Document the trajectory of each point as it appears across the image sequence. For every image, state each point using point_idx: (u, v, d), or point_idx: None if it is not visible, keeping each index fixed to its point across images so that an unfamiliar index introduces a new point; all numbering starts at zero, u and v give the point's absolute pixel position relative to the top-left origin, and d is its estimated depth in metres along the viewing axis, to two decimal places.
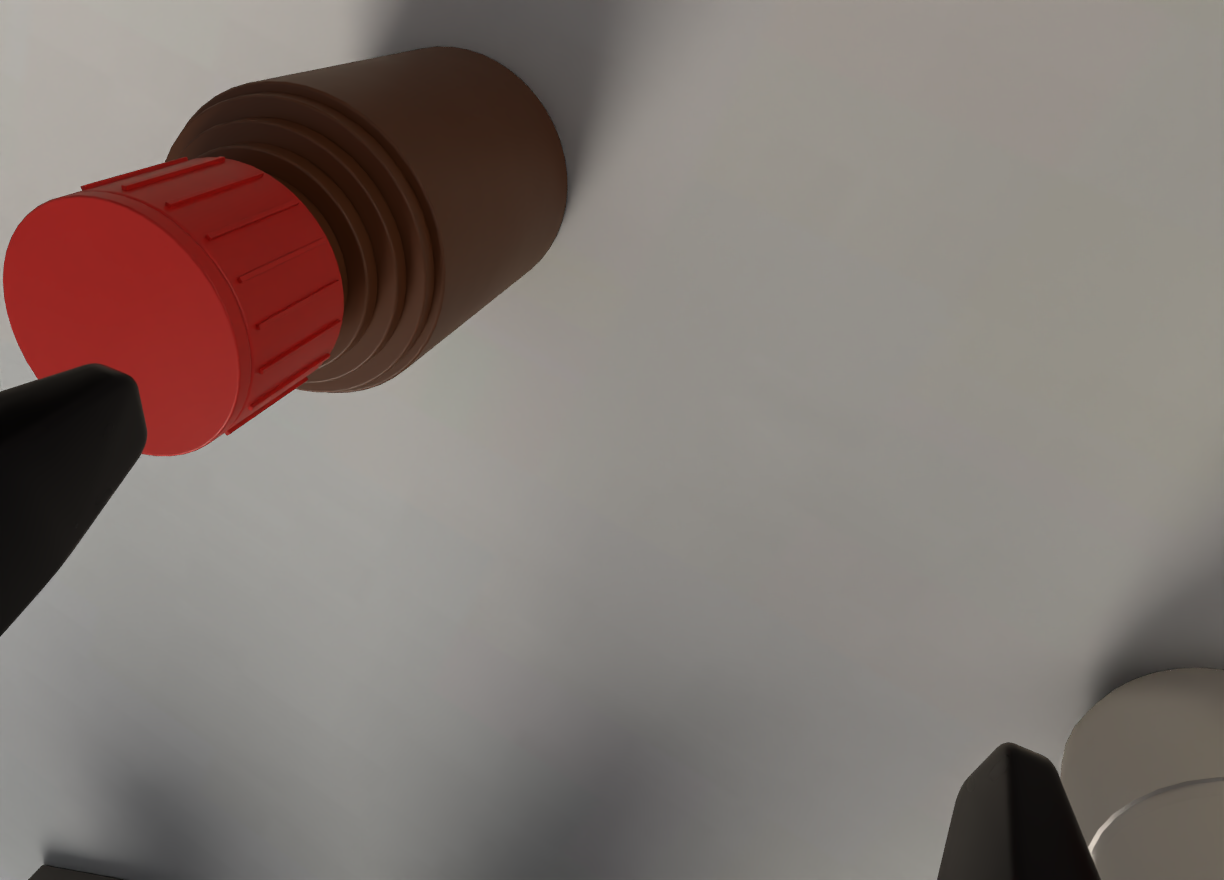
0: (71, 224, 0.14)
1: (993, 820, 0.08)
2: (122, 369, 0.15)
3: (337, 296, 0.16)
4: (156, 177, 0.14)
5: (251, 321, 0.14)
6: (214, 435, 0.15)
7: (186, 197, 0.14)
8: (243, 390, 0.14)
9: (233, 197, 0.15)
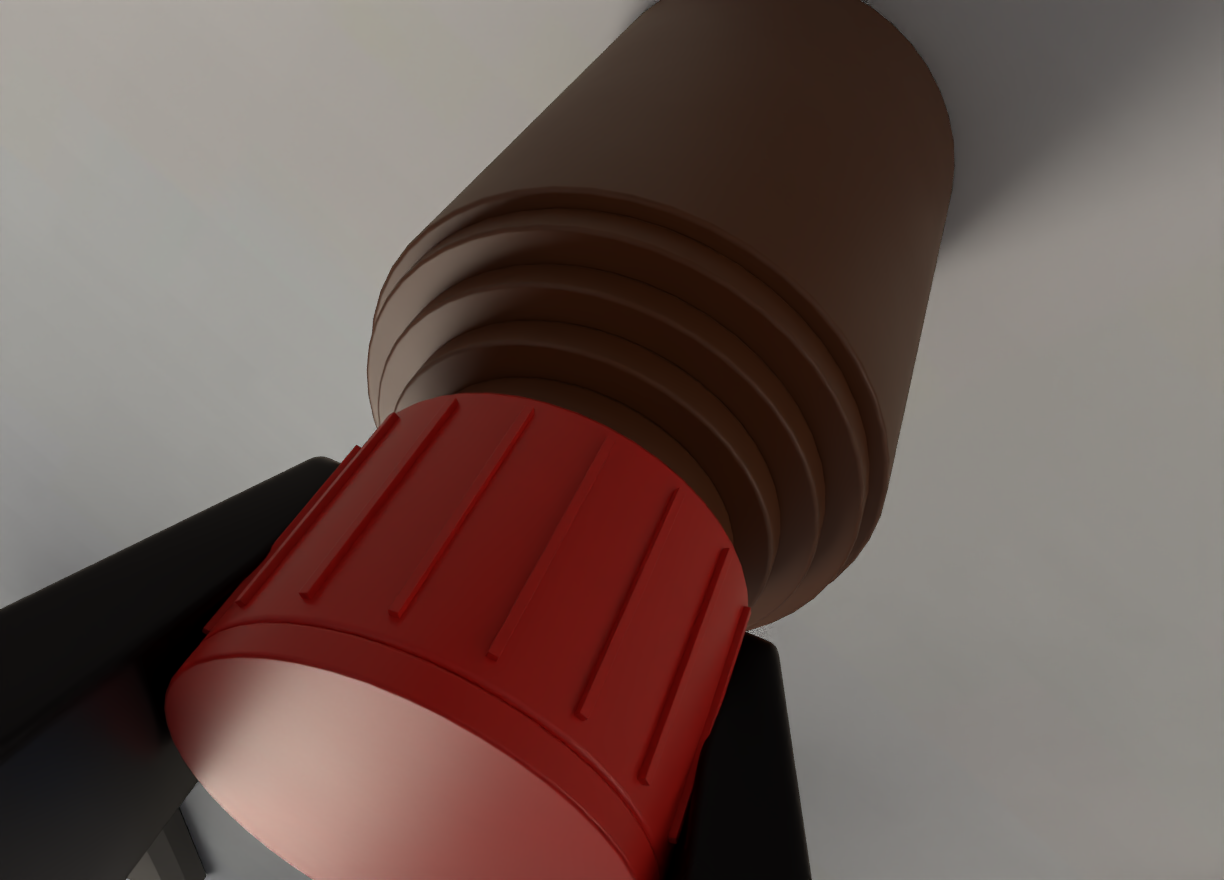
0: (368, 714, 0.06)
1: None
2: (381, 857, 0.08)
3: None
4: (537, 588, 0.07)
5: None
6: None
7: (606, 672, 0.07)
8: None
9: (658, 606, 0.07)
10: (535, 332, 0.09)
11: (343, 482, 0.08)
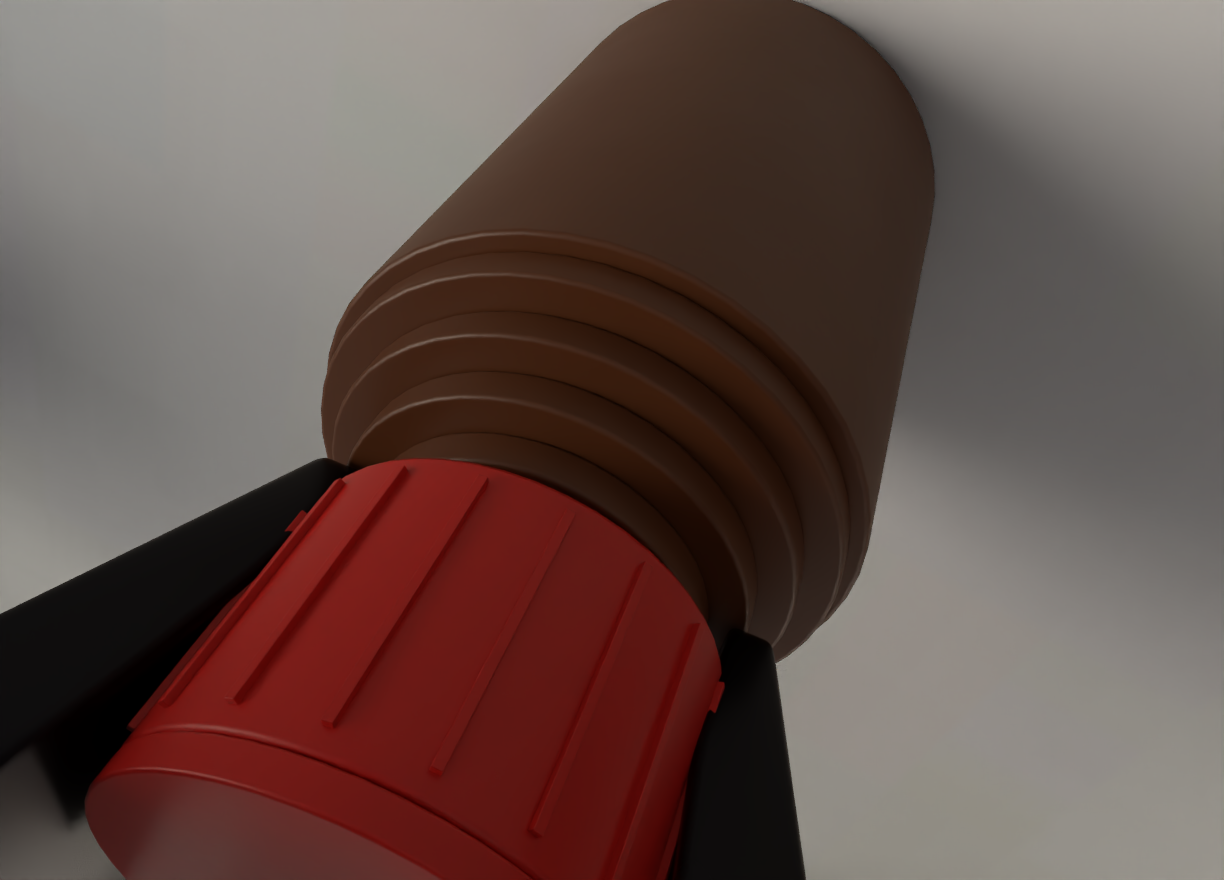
0: (299, 836, 0.06)
1: None
2: None
3: None
4: (488, 687, 0.06)
5: None
6: None
7: (563, 780, 0.06)
8: None
9: (622, 696, 0.07)
10: (730, 527, 0.08)
11: (282, 559, 0.07)
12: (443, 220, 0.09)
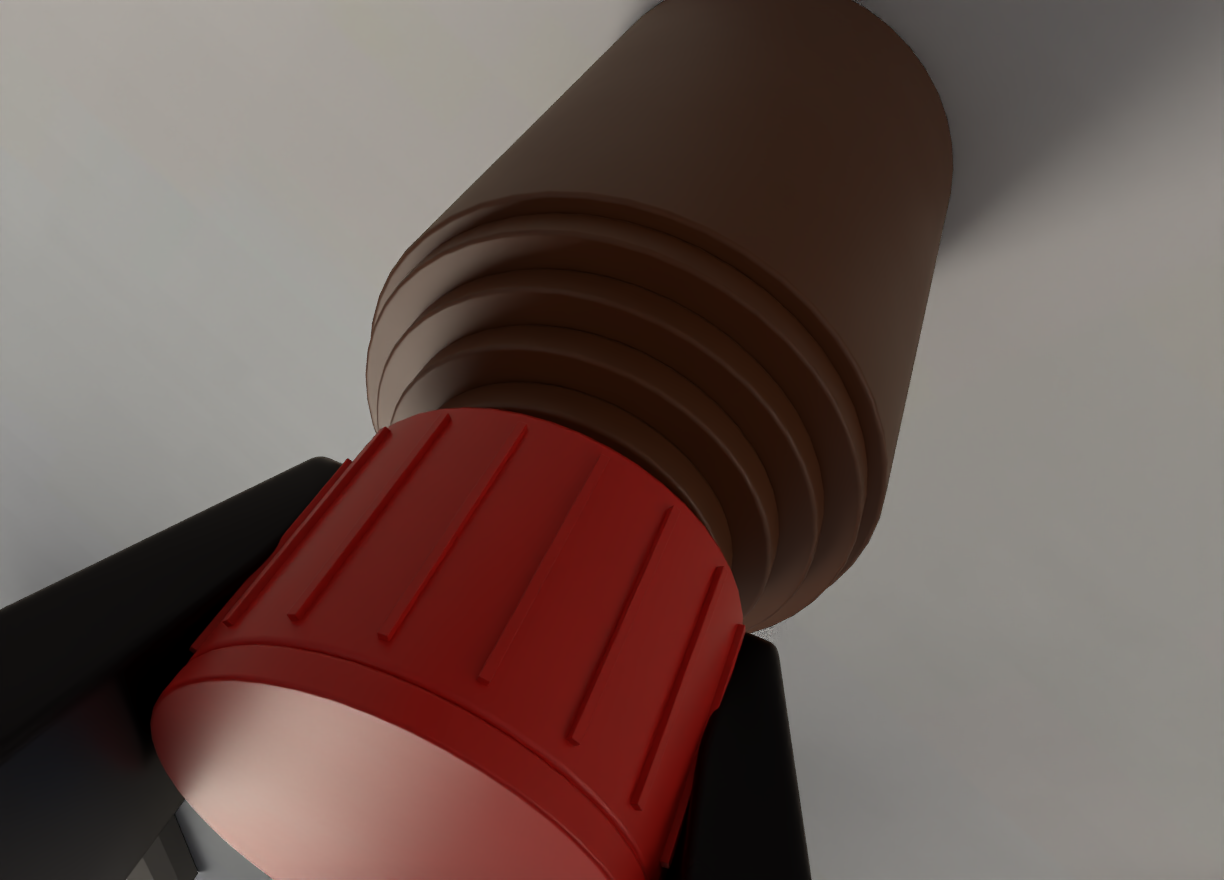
0: (291, 877, 0.08)
1: None
2: (439, 862, 0.07)
3: (410, 426, 0.08)
4: None
5: (216, 636, 0.07)
6: (405, 729, 0.06)
7: None
8: (283, 665, 0.06)
9: None
10: (532, 337, 0.09)
11: None
12: None
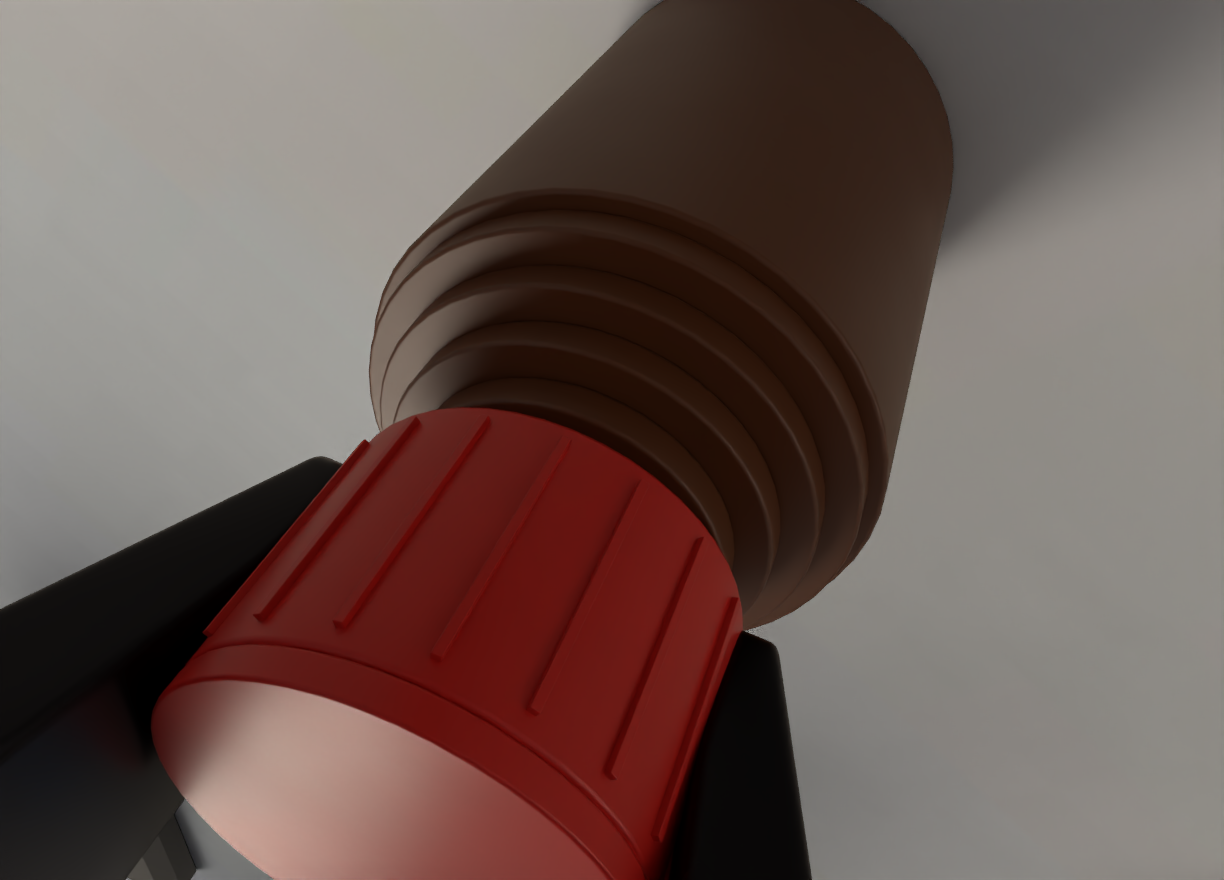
0: None
1: None
2: (362, 816, 0.07)
3: None
4: None
5: None
6: (160, 703, 0.07)
7: None
8: None
9: None
10: (536, 333, 0.09)
11: None
12: None
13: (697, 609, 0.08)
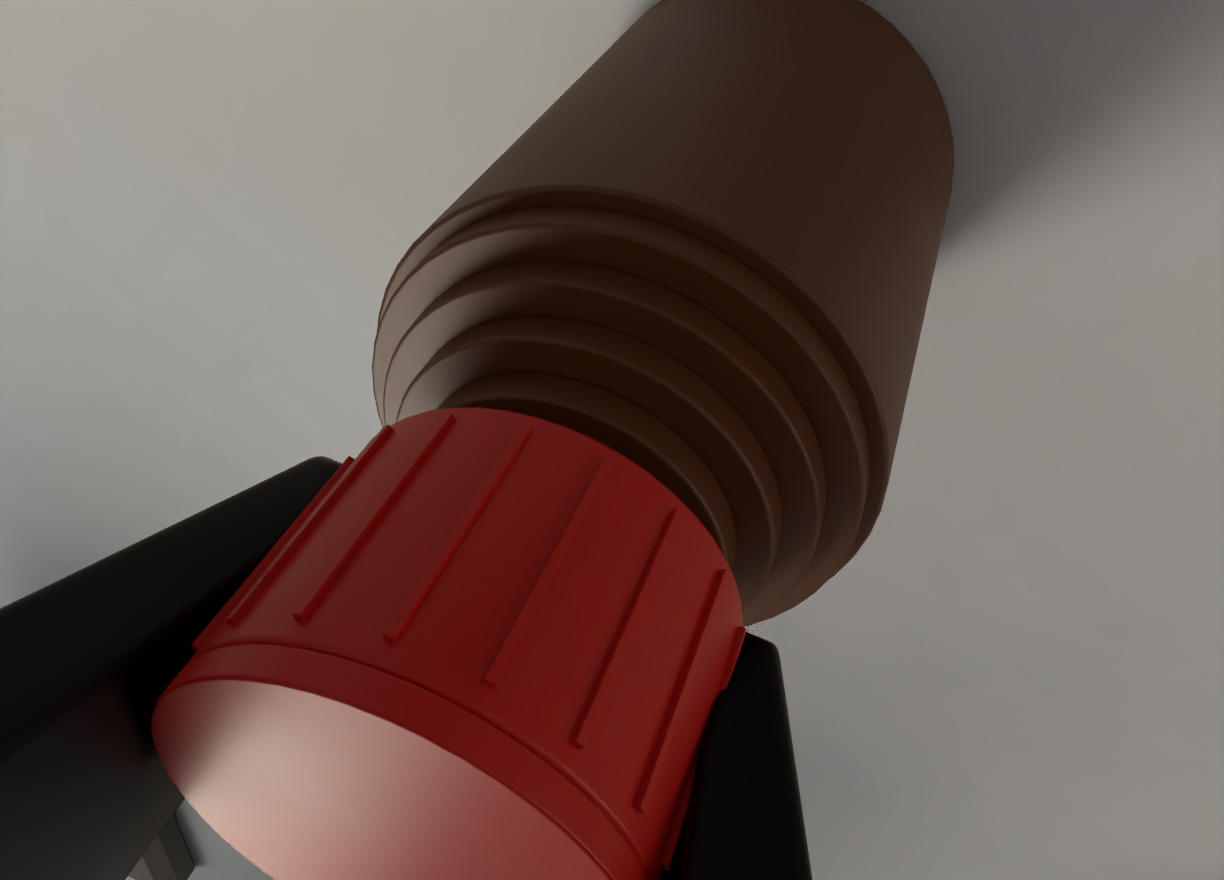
0: None
1: None
2: (316, 824, 0.07)
3: None
4: None
5: None
6: (241, 852, 0.09)
7: None
8: None
9: None
10: (539, 329, 0.09)
11: (646, 598, 0.07)
12: None
13: (454, 460, 0.08)
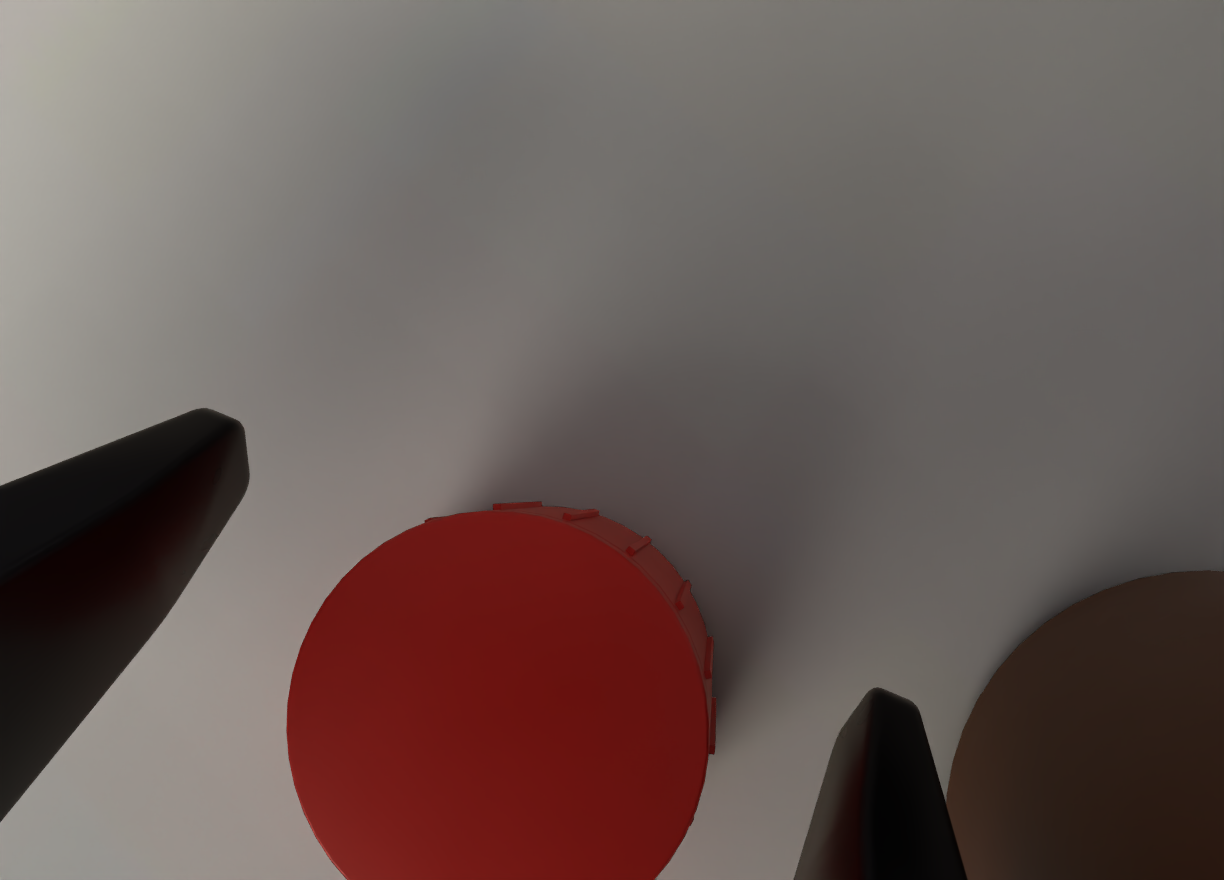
0: (548, 561, 0.09)
1: (854, 761, 0.08)
2: (454, 775, 0.09)
3: None
4: (640, 547, 0.10)
5: None
6: None
7: (685, 600, 0.10)
8: None
9: (692, 613, 0.11)
10: None
11: None
12: None
13: None
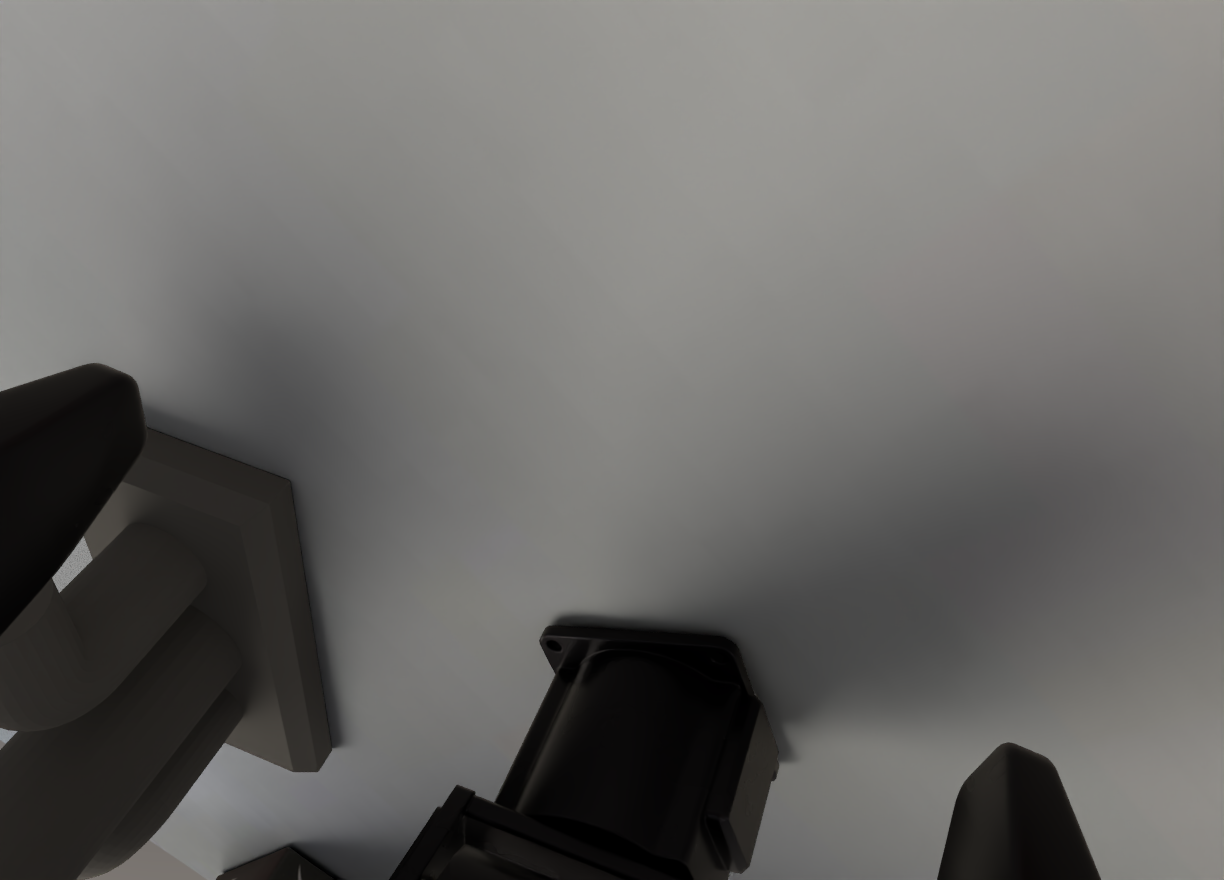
0: None
1: (993, 820, 0.08)
2: None
3: None
4: None
5: None
6: None
7: None
8: None
9: None
10: None
11: None
12: None
13: None
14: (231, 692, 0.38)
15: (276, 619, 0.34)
